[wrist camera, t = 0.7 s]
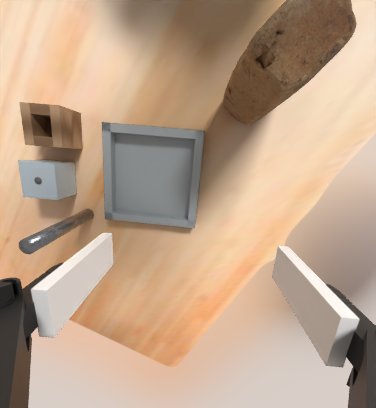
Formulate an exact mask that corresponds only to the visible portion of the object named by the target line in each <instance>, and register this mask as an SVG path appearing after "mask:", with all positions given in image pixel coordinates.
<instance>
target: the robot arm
mask: <svg viewBox="0 0 376 408" xmlns="http://www.w3.org/2000/svg"><path fill="white" fill-rule="evenodd" d="M113 264H114V261H113V241H112V233H102V234H100V235H99V236H98V237H97V238H95V239H94V240H93V241H91V242H90V243H89V244H88V245H86V246H85V247H84V248H83V249H81V250H80V251H79V252H77V253H76V254H75V255H74V256H72V257H71V258H70V259H69V260H67V261H66V262H65V263H60V264H57V265H55V266H53V267H52V268H50V269H49V270H47V271H46V272H45V273H43V274H42V275H41V276H39V278H37V279H35V280H34V281H33V282H31V283H30V284H29V285H27V286H26V287H25V288H23V289H22V287H21V282H20V279H18V278H6V279H2V280H0V408H28V399H29V380H30V363H31V345H32V338H31V333H32V332H33V331H34V330H35V329H36V328H37V327H38V332H39V336H41V337H51V338H54V337H55V336H56V335H57V334H58V332H59V331H60V330H61V329H62V327H63V326H64V325H65V324H66V322H67V321H68V320H69V319H70V317H71V316H72V315H73V314H74V312H75V311H76V310H77V309H78V307H79V306H80V305H81V304H82V302H83V301H84V300H85V299H86V297H87V296H88V295H89V294H90V293H91V291H92V290H93V289H94V288H95V286H96V285H97V284H98V283H99V281H100V280H101V279H102V278H103V276H104V275H105V274H106V273H107V271H108V270H109V269H110V268H111V266H112V265H113ZM272 277H273V279H274V281H275V283H276V284H277V286H278V287H279V289H280V291H281V292H282V294H283V296H284V297H285V299H286V301H287V302H288V304H289V305H290V307H291V309H292V311H293V312H294V313H295V316H296V317H297V319H298V320H299V322H300V324H301V325H302V327H303V329H304V330H305V332H306V334H307V335H308V337H309V339H310V340H311V342H312V344H313V345H314V347H315V348H316V350H317V352H318V353H319V355H320V357H321V358H322V360H323V362H324V363H325V365H326V366H335V367H343V366H344V363H345V360H346V357H347V358H348V360H349V361H350V362H351V364H352V365H353V368H352V371H351V373H350V376H349V379H348V382H347V385H348V386H349V387H350V389H349V402H348V408H376V325H374V324H373V323H372V322H371V321H370V320H369V319H368V318H367V317H366V316H365V315H364V314H363V313H362V312H360V311H359V310H358V309H357V308H356V307H355V306H354V305H352V303H351V302H350V301H349V300H348V299H346V297H345V296H344V295H343V294H342V293H341V292H340V291H339V290H337V289H335V288H334V287H332V286H331V285H328V284H324V283H323V281H322V280H321V279H320V278H319V277H318V276H317V275H316V274H315V273H314V272H313V271H312V270H311V269H310V268H309V267H308V266H307V265H306V264H305V263H303V261H302V260H301V259H300V258H299V257H298V256H297V255H296V254H295V253H294V252H293V251H292V250H291V249H290V248H289V247H286V246H278V249H277V254H276V259H275V264H274V269H273V275H272Z"/></svg>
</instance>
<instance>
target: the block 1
mask: <svg viewBox="0 0 376 408" xmlns="http://www.w3.org/2000/svg"><path fill="white" fill-rule="evenodd" d="M18 163H19V170H20V177H21V184H22V190H23V197H31V198H41V199H51V200H60V199H63V198H66V197H69V196H72V195H76V194H77V189H76V175H75V163H74V162H63V161H52V160H18Z"/></svg>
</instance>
